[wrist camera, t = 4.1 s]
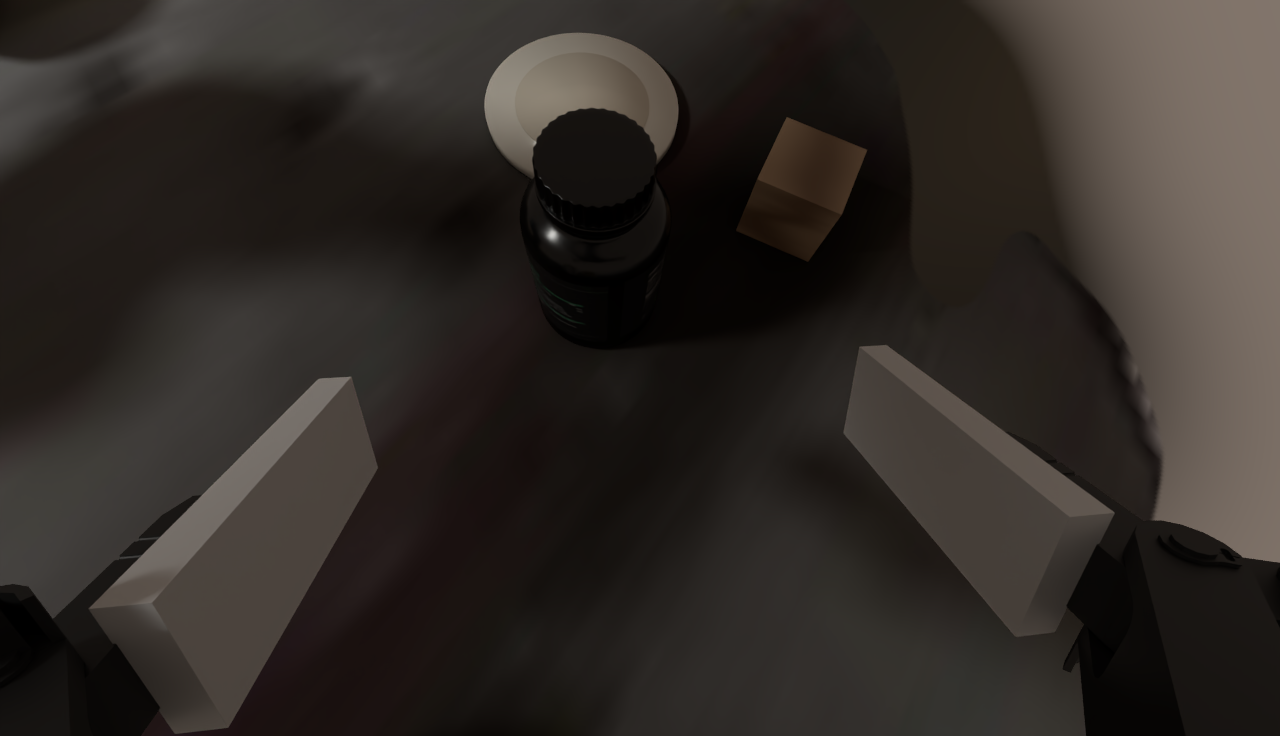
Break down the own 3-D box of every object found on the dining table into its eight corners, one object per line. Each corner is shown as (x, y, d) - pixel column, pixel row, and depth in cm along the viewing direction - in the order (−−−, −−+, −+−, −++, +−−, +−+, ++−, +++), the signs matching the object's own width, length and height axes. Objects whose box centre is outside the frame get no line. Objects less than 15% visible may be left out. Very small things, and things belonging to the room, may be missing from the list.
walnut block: (735, 231, 33) (757, 179, 29) (762, 175, 35) (786, 117, 30) (807, 262, 33) (841, 214, 28) (831, 204, 34) (867, 149, 30)
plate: (447, 105, 35) (443, 94, 34) (587, 16, 38) (587, 4, 38) (577, 226, 32) (577, 217, 32) (715, 119, 36) (717, 109, 35)
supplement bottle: (615, 231, 33) (622, 63, 21) (676, 315, 31) (719, 181, 20) (519, 281, 31) (471, 127, 20) (578, 372, 29) (562, 262, 18)
